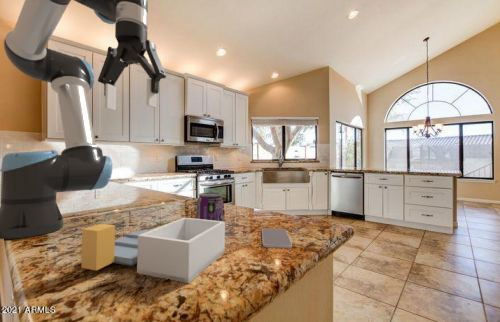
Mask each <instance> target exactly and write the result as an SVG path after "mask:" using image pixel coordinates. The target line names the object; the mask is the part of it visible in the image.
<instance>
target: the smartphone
mask: <svg viewBox="0 0 500 322" xmlns="http://www.w3.org/2000/svg"><path fill="white" fill-rule="evenodd" d="M261 237H262V239H261V240H262V241H261V242H262V247H264V248H273V249H274V248H277V249H292V248H293V243H292V241H291V239H290V236H289V234H288V231H287V230H286V229H285V228H265V227H264V228H261Z"/></svg>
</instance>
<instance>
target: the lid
mask: <svg viewBox="0 0 500 322" xmlns="http://www.w3.org/2000/svg"><path fill="white" fill-rule="evenodd" d="M148 231H149V230H144V229H142V230H138V231H136V232H133V233H130V232H128V233H126V235H125V236H123V237H120V238H118V239H116V225H114V224H113V225H112V224H104V223H99V224H96V225H91V226H89V227H85V228H82V230H81V265H80V266H81V268H82V269H86V270H91V271H98V270H101V269H103V268H104V267H106V266H109V265H110V264H119V265H124V266H128V267H129V266H130V267H133V266H135V265H137V252H138V235H140V234H143V233H145V232H148Z"/></svg>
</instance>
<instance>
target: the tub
mask: <svg viewBox="0 0 500 322" xmlns="http://www.w3.org/2000/svg"><path fill="white" fill-rule="evenodd" d="M147 231H148V232H145V233H143V234H140V235H138V252H137V263H136V273H137V274H140V275H145V276H150V277H153V278H160V279H163V278H165V280H168V279H170V280H169V281H173V280H175V282H178V281H179V282H178V283H183V282H184V283H183V284H188V283H189V284H191V282H193V280H194V279H195V278H197V276H199V275H200V274H201V273H203V271H204V270H206V269H207V268H208V267H209V266H210V265H211V264H212V263H214V262H215V261H216V260H217V259H218V258H220V257H221V256H222V255H223V253H225V251H226V249H225V247H226V243H225V242H226V240H225V239H226V221H224V220H223V221H214V220H204V219H197V218H193V217H182V218H180V219H177V220H174V221H172V222H170V223H167V224H164V225H161V226H159V227H157V228H153V229H151V230H147Z"/></svg>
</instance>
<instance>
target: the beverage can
mask: <svg viewBox="0 0 500 322" xmlns="http://www.w3.org/2000/svg"><path fill="white" fill-rule="evenodd" d="M223 213H224V199H223V197H222V193H220V192H201V193H199V194H198V198H197V200H196V219H204V220H214V221H223V222H224V216H223V215H224V214H223Z"/></svg>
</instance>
